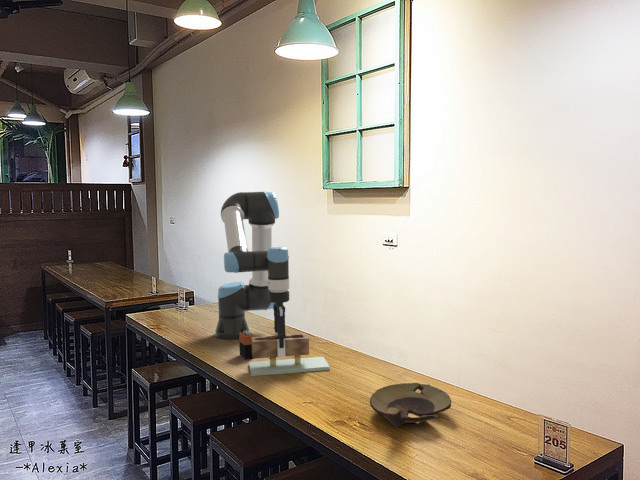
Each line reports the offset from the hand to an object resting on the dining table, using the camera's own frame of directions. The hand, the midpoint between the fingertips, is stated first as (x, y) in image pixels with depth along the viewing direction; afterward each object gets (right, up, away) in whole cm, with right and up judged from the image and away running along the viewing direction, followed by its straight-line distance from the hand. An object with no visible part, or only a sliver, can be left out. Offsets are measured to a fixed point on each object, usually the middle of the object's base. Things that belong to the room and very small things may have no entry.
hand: (280, 353), depth 193 cm
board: (+3, -5, +1) cm, 6 cm away
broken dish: (+38, -9, -43) cm, 58 cm away
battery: (-14, -5, +15) cm, 21 cm away
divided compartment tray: (0, 0, 0) cm, 0 cm away
